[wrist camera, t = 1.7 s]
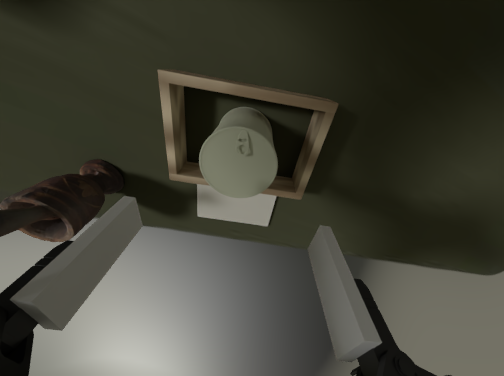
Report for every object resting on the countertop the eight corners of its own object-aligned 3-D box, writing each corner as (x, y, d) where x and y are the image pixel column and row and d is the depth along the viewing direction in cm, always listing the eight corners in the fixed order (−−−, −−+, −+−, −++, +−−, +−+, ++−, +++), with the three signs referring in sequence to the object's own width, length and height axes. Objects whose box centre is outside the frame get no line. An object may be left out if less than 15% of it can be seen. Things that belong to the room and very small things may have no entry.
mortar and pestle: (74, 133, 31) (-142, 207, 14) (126, 149, 32) (-16, 233, 16) (86, 186, 37) (-55, 280, 20) (129, 197, 38) (30, 295, 22)
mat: (197, 172, 34) (197, 173, 34) (279, 185, 35) (279, 186, 35) (198, 214, 40) (197, 216, 40) (267, 224, 41) (267, 226, 41)
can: (278, 113, 28) (289, 136, 18) (265, 165, 33) (268, 206, 23) (220, 101, 27) (197, 119, 17) (216, 156, 32) (196, 194, 22)
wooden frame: (174, 69, 25) (157, 69, 21) (326, 98, 27) (338, 103, 22) (180, 166, 34) (169, 179, 30) (296, 184, 35) (300, 199, 31)
